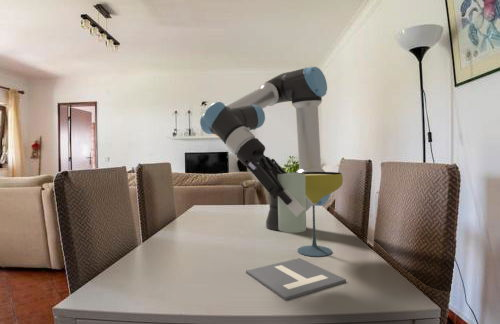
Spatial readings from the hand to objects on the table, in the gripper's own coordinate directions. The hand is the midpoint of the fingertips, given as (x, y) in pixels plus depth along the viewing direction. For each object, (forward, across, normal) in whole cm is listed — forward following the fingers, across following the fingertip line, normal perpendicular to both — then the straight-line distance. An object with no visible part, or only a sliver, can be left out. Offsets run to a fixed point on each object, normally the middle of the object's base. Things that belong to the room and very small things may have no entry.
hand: (305, 210), depth 76 cm
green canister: (+1, 0, +6) cm, 6 cm away
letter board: (+10, 0, +15) cm, 18 cm away
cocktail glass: (+9, +22, +15) cm, 29 cm away
